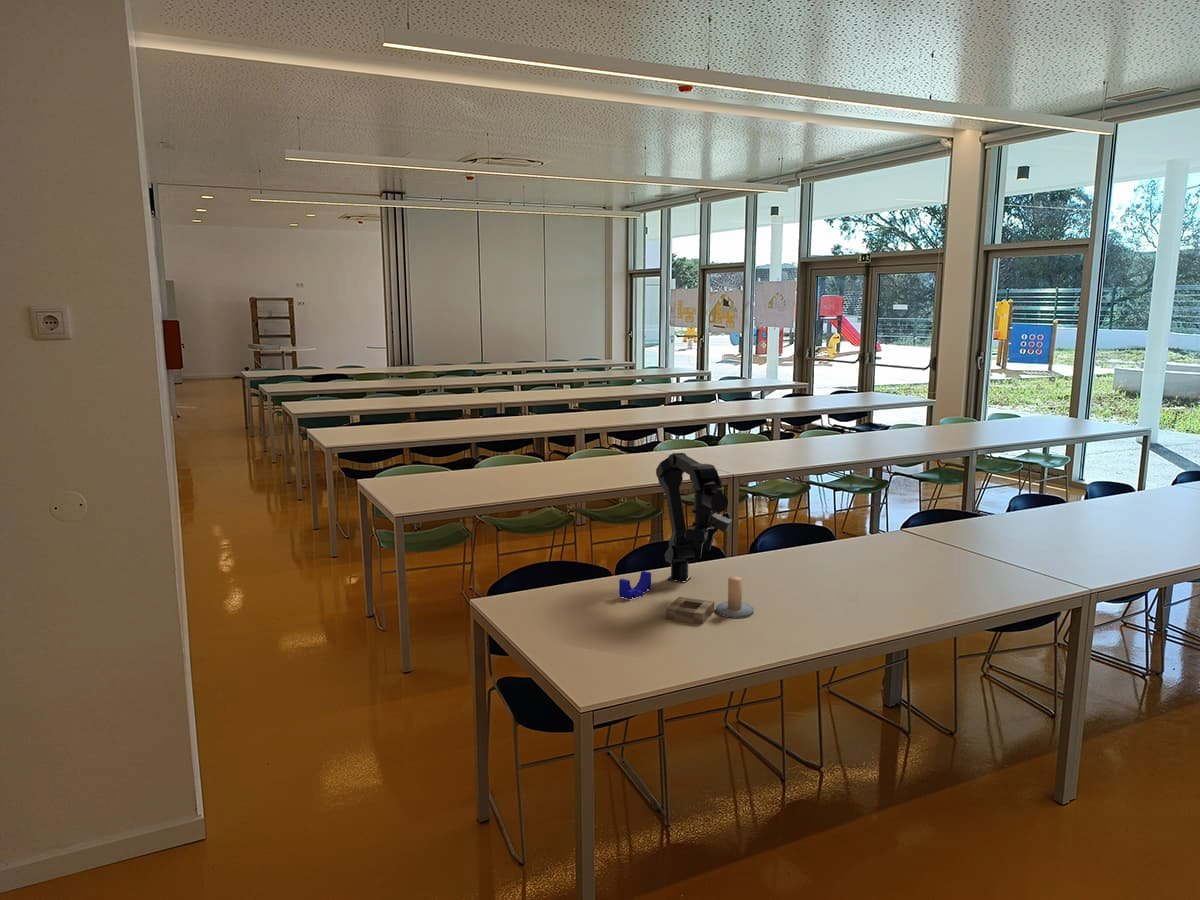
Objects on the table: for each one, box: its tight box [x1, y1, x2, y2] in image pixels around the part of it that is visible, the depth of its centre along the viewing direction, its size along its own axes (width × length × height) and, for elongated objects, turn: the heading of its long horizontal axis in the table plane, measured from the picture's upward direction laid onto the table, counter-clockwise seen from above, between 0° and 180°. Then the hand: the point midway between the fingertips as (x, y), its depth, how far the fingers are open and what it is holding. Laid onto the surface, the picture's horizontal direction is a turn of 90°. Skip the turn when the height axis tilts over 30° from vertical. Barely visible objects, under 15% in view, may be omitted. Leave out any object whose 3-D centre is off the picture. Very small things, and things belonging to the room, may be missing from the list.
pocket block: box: [665, 596, 715, 625], centre depth 238 cm, size 11×11×3 cm
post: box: [727, 576, 743, 610], centre depth 240 cm, size 4×4×9 cm
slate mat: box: [715, 601, 754, 619], centre depth 240 cm, size 11×11×1 cm
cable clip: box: [618, 570, 652, 599], centre depth 256 cm, size 12×4×6 cm, turn 138°
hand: (703, 554), depth 253 cm, fingers open, 9 cm apart
